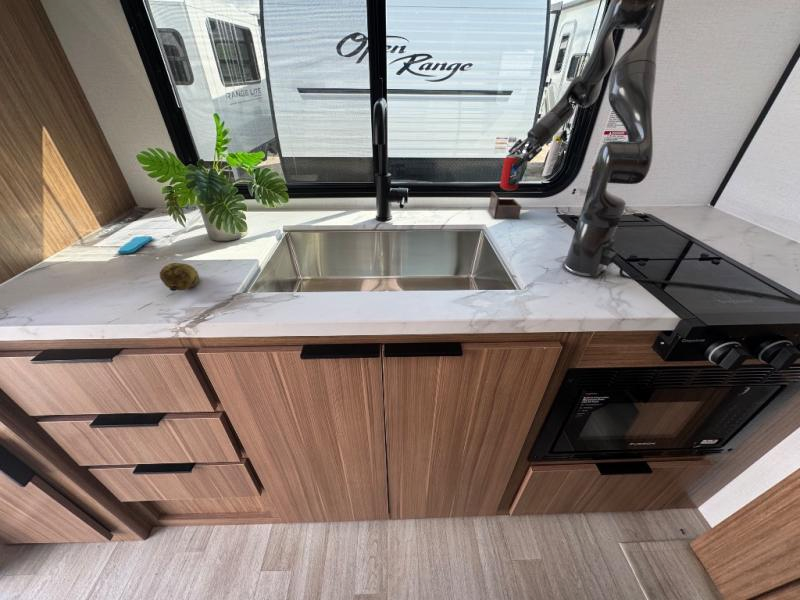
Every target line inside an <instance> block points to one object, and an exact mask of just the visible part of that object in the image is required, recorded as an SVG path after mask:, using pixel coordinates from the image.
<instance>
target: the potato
mask: <svg viewBox="0 0 800 600" xmlns="http://www.w3.org/2000/svg"><path fill="white" fill-rule="evenodd" d="M159 278H160V281H161V282H162V283H163V285H165V287H167V288H168V289H169V290H170V291H171V292H176V291H186V290H187V289H190V288H193V287H195V286H196V285H197V284H198V283H199V279H200V276H199V272H198V271H197V269H196V268H194V267H193V266H192V265H190V264H188V263H181V262H171V263H168V264H166V265H164V266H163V267H162V269H160V271H159Z"/></svg>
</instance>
